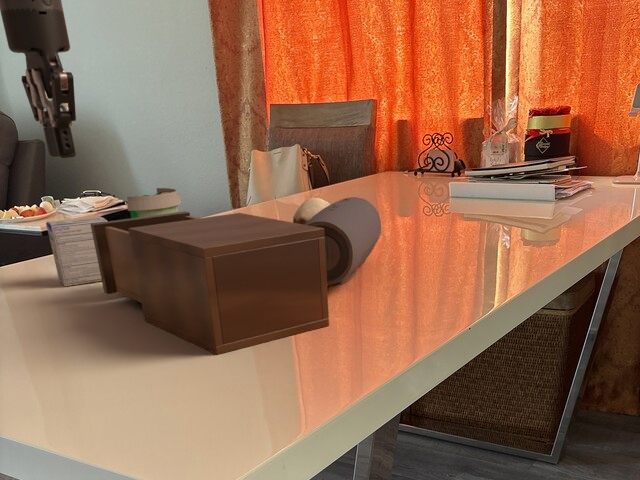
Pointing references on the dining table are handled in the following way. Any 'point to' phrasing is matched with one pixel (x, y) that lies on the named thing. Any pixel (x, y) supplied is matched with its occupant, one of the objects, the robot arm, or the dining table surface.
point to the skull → (309, 210)
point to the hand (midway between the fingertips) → (62, 156)
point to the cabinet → (231, 279)
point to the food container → (154, 203)
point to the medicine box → (75, 250)
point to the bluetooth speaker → (347, 236)
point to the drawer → (123, 251)
